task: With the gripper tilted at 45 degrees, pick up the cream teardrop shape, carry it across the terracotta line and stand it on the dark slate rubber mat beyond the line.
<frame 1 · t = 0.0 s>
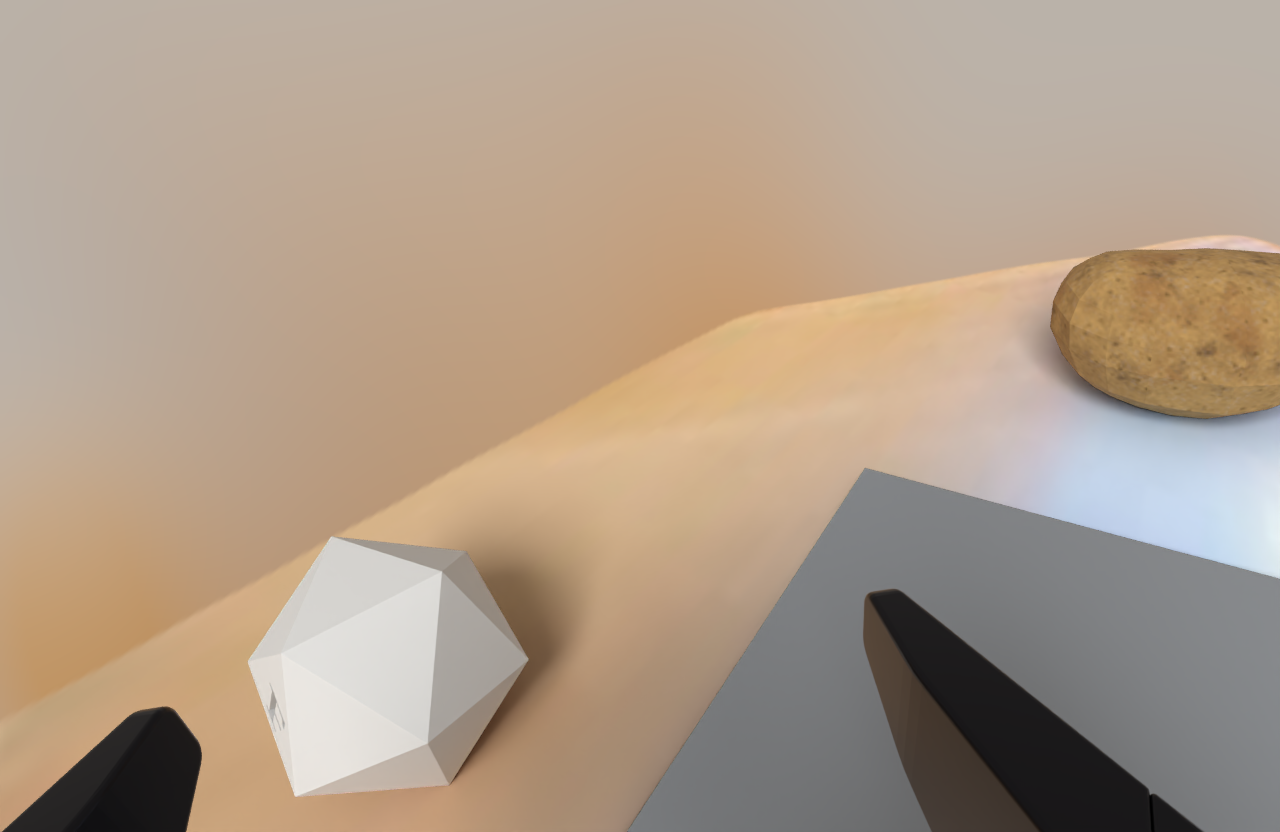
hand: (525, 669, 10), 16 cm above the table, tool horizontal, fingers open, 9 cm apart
die: (423, 728, 28), on the table
potato: (1186, 403, 38), on the table
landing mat: (1039, 746, 24), on the table
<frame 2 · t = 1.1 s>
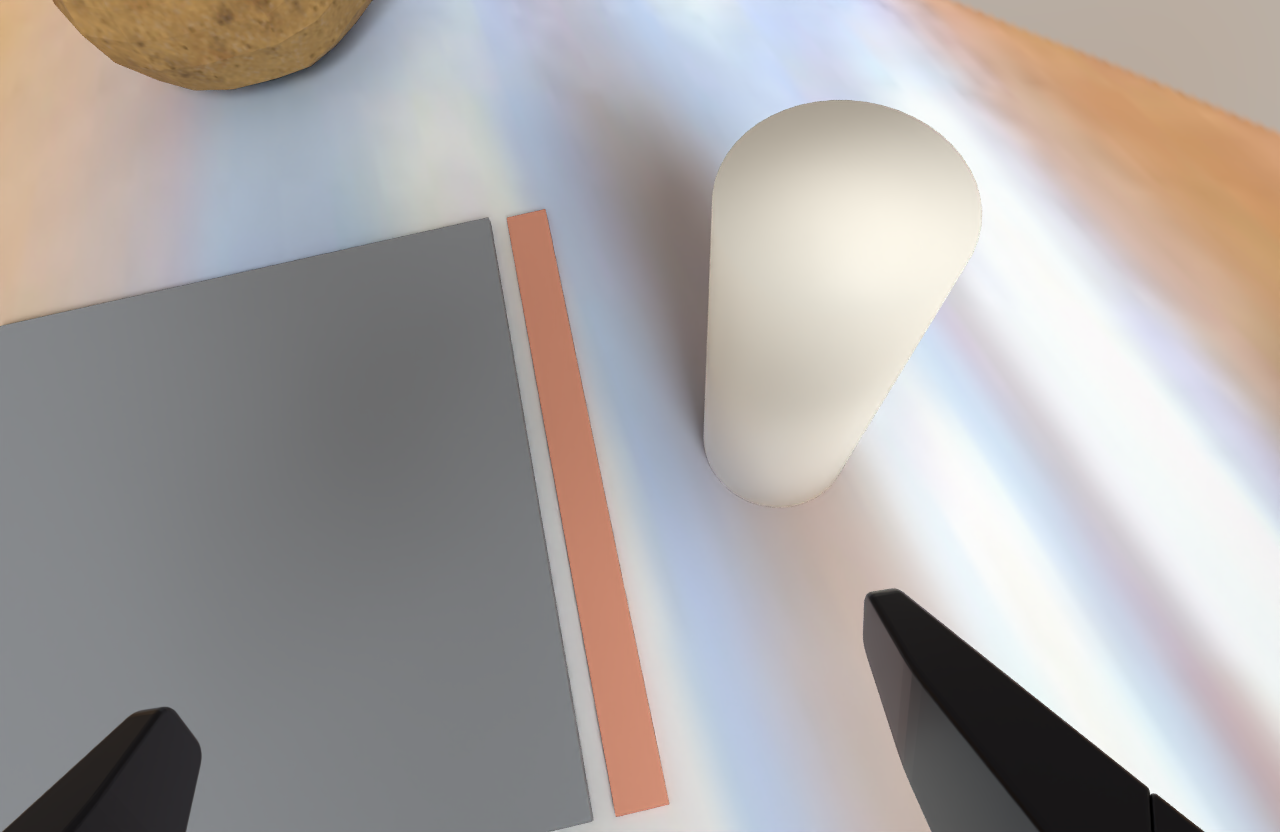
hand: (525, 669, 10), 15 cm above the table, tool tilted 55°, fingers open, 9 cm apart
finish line: (575, 466, 26), on the table
potato: (295, 49, 35), on the table
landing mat: (254, 538, 26), on the table
cream teardrop shape: (774, 438, 26), on the table
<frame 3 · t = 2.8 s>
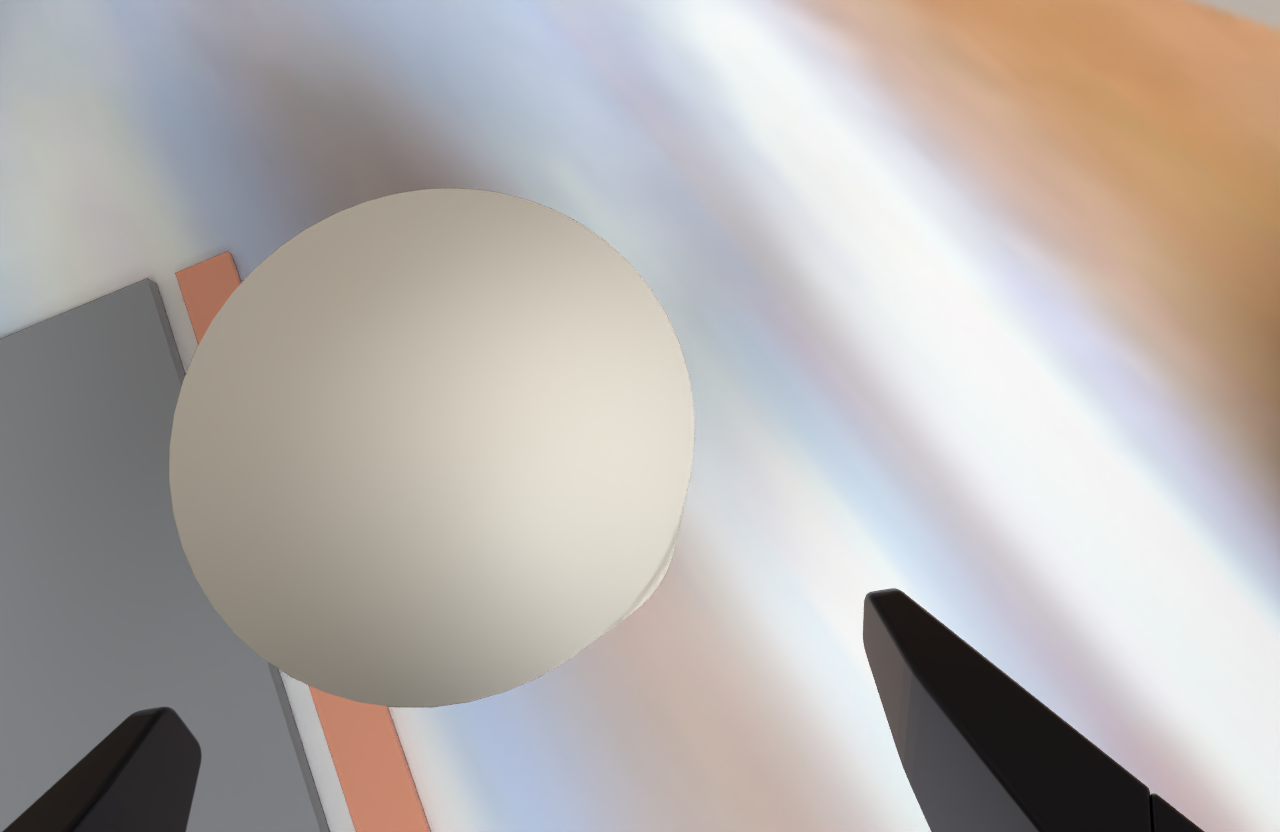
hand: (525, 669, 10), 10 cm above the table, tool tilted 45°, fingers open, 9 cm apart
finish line: (324, 619, 19), on the table
cream teardrop shape: (581, 530, 20), on the table
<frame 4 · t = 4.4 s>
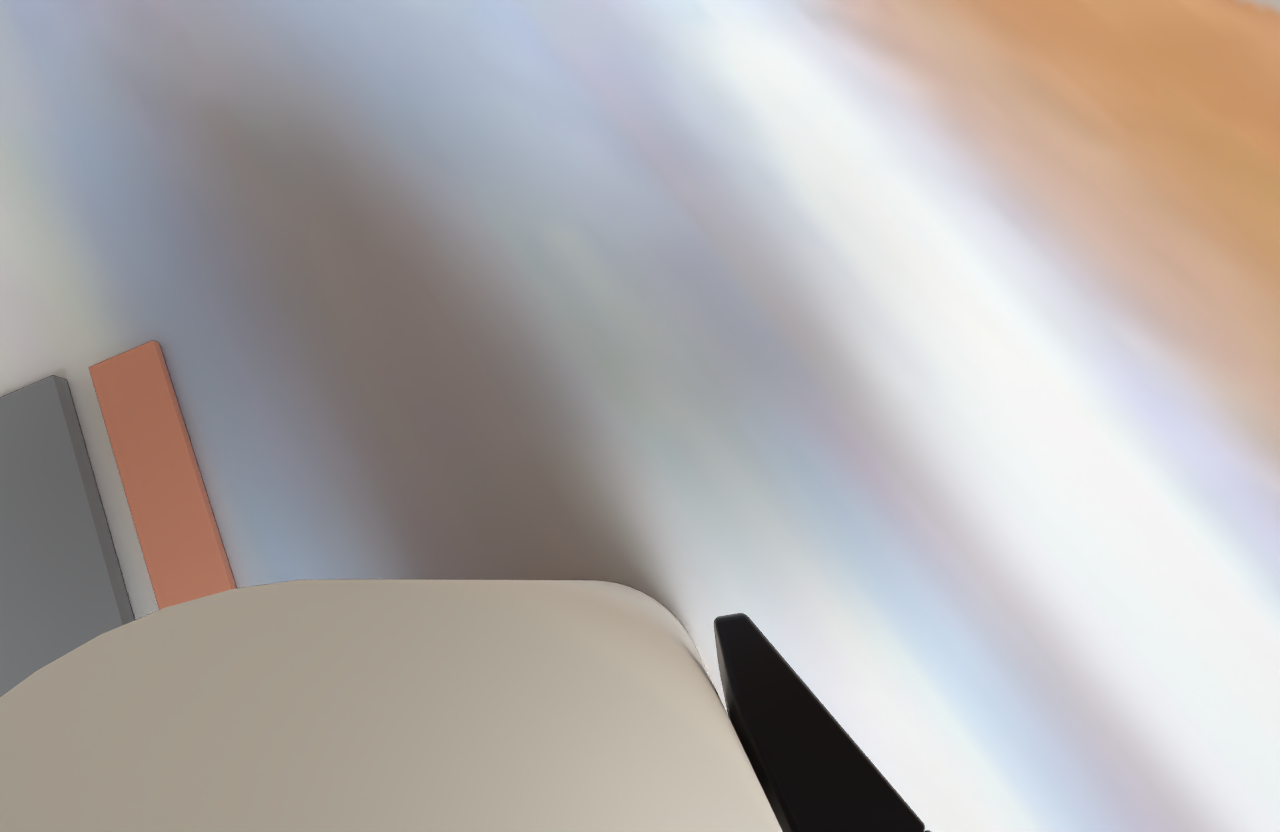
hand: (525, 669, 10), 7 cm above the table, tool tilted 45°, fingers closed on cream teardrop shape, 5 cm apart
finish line: (267, 817, 15), on the table
cream teardrop shape: (590, 701, 16), on the table, touching gripper
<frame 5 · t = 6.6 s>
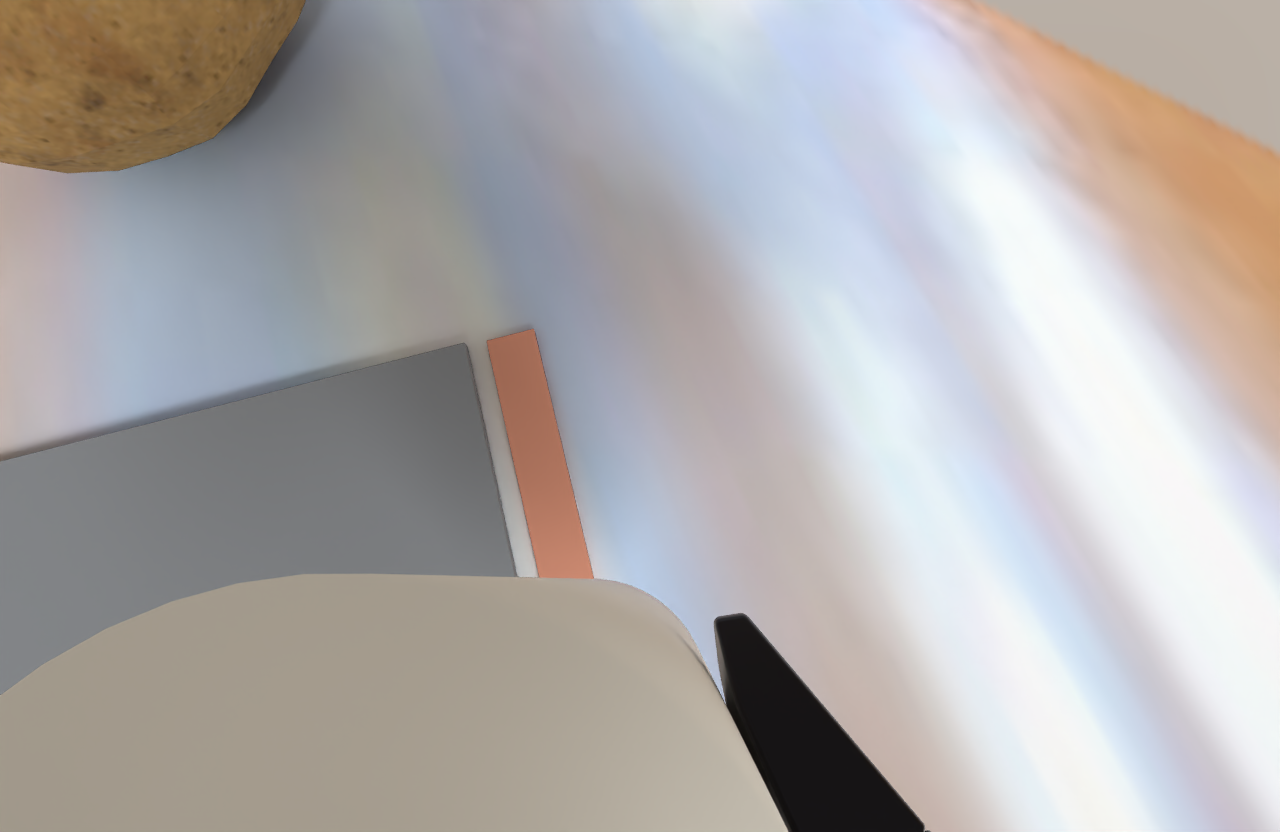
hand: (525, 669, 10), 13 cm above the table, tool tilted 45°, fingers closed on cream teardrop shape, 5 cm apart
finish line: (589, 673, 22), on the table
potato: (197, 87, 27), on the table
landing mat: (214, 771, 22), on the table
cream teardrop shape: (591, 699, 16), point 7 cm above the table, touching gripper
when the fingers open (8 cm above the table, at t = 9.1 s): cream teardrop shape drops 1 cm, resting on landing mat.
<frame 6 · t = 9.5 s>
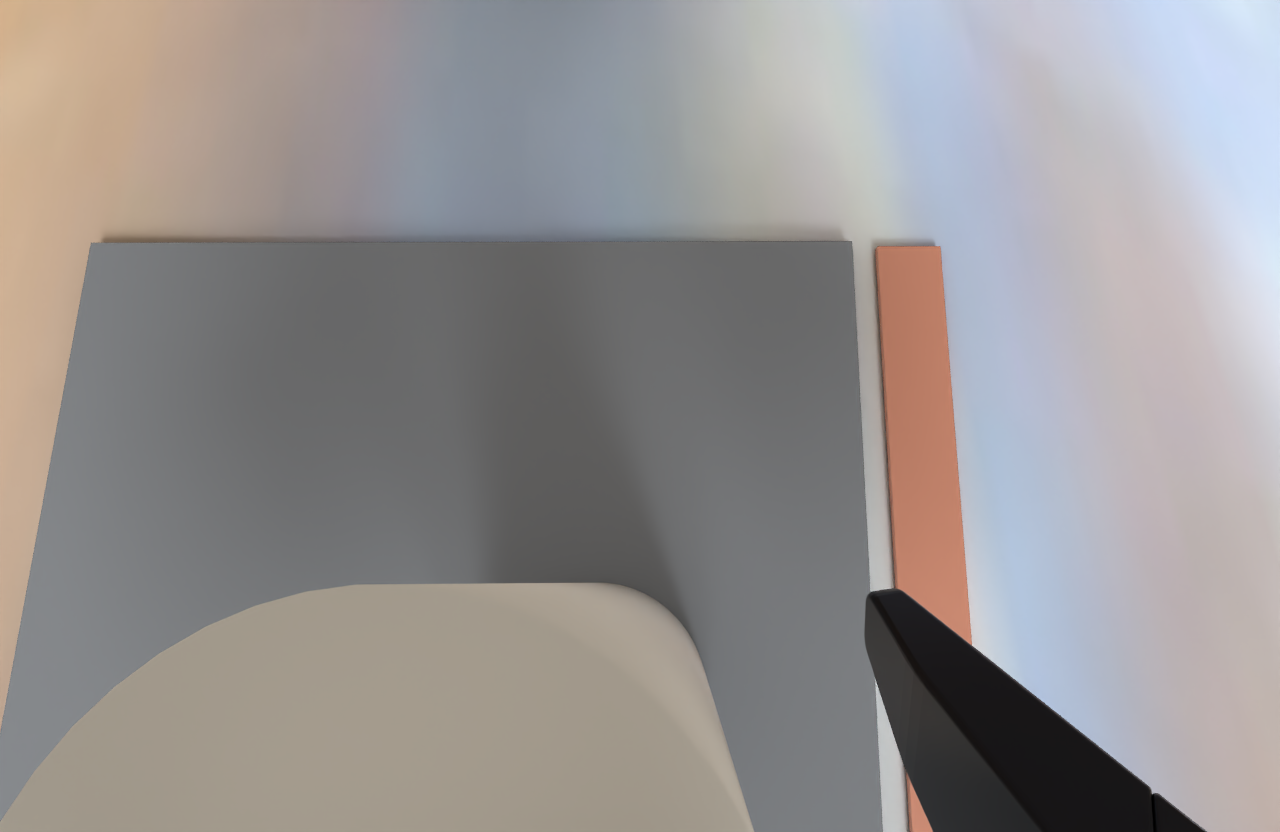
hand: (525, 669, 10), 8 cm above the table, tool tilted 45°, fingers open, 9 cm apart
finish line: (937, 696, 17), on the table
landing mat: (439, 684, 17), on the table
cream teardrop shape: (596, 695, 17), resting on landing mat
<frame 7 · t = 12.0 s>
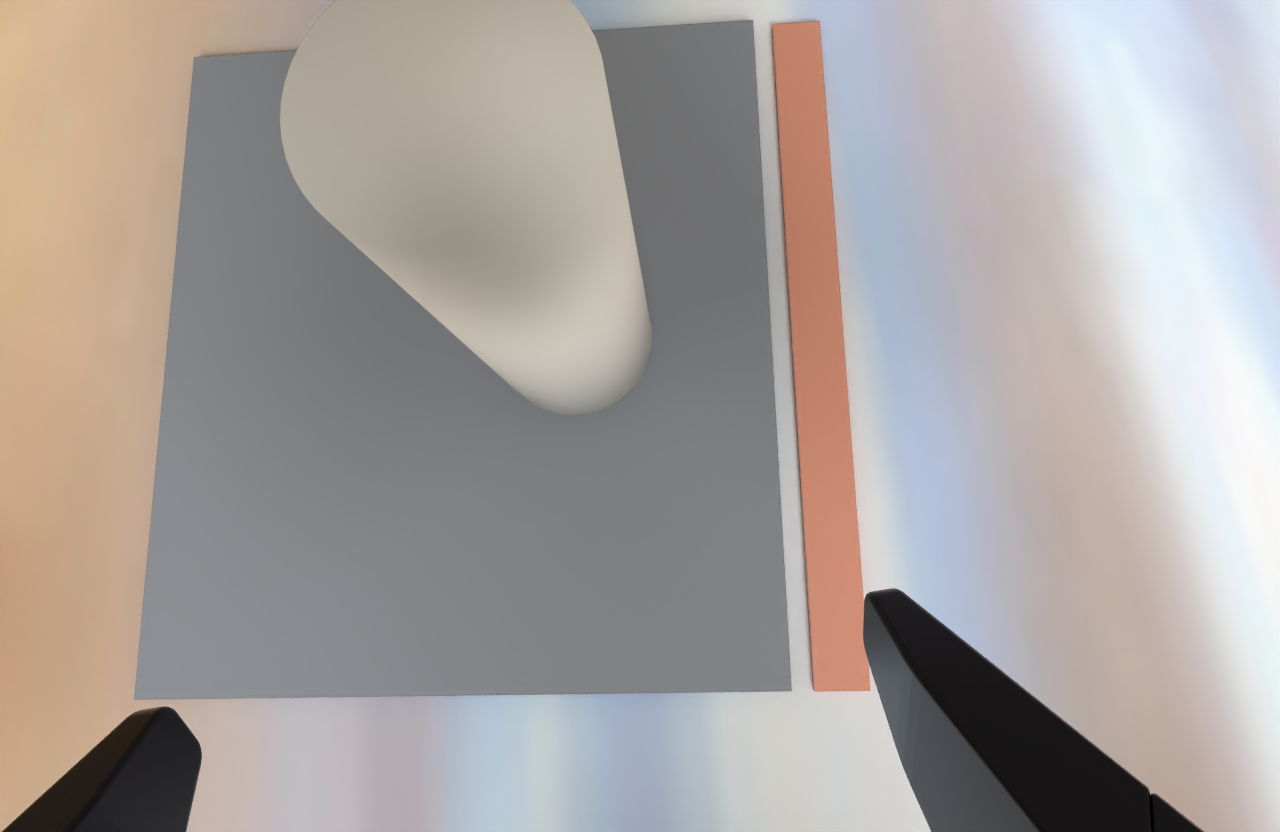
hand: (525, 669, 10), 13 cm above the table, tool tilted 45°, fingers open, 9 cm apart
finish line: (816, 330, 24), on the table
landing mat: (464, 343, 25), on the table
cream teardrop shape: (574, 338, 24), resting on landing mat
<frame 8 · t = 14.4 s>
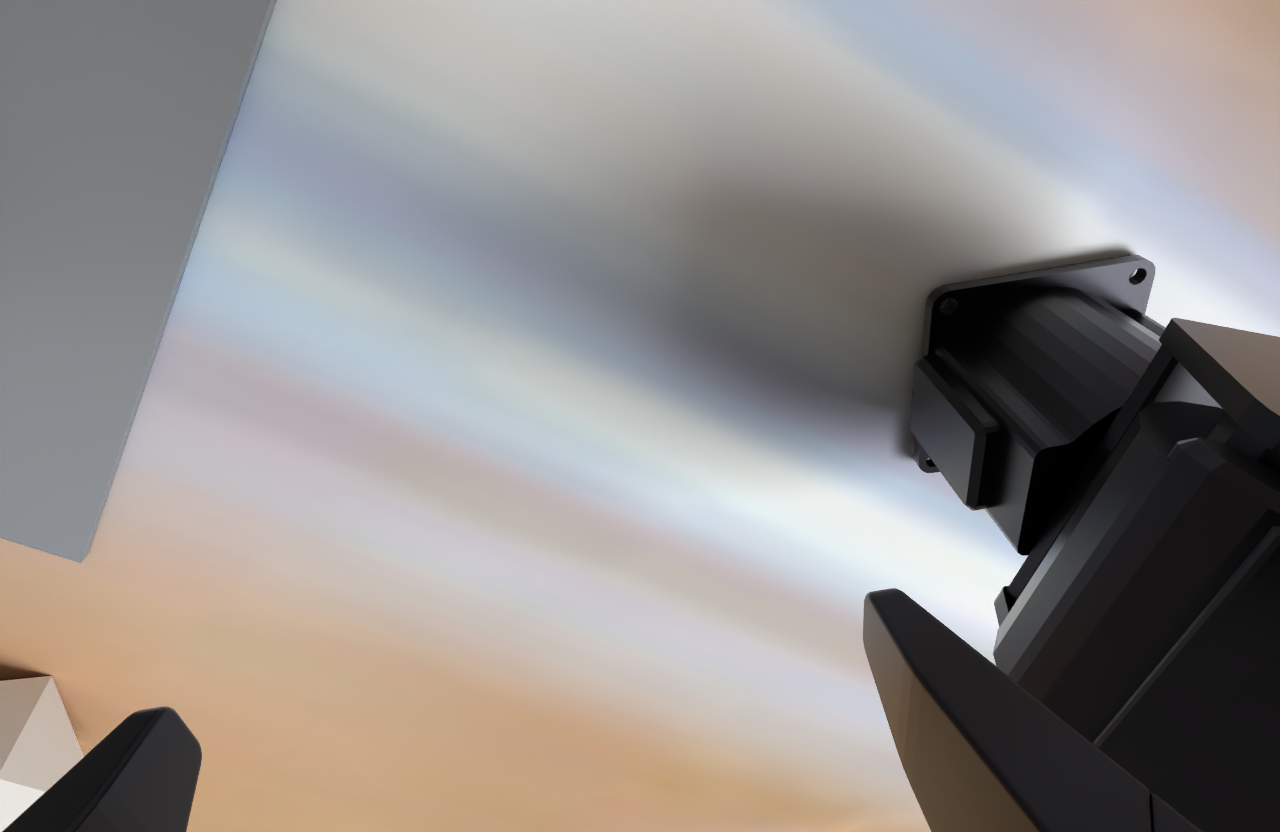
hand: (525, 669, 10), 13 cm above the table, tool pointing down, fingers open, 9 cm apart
die: (6, 706, 28), on the table
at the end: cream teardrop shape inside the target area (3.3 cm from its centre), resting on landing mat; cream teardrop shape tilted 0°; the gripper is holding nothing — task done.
